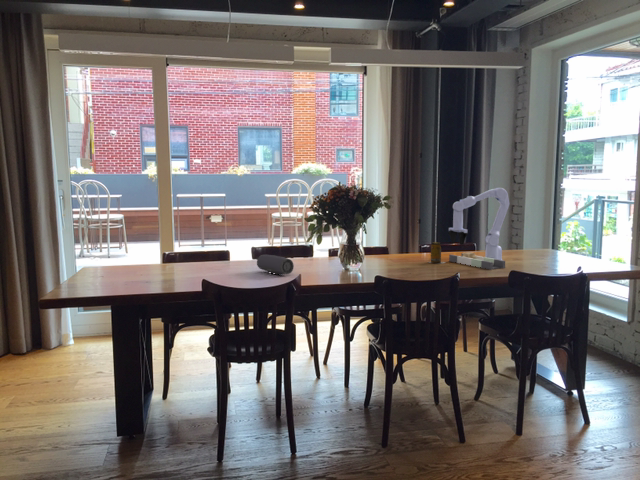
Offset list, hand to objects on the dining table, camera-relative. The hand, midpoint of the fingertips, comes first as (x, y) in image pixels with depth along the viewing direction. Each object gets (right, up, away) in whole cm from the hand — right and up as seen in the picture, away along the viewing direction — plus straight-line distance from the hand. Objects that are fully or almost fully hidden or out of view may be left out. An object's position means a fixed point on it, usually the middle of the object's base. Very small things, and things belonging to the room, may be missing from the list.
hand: (457, 243), depth 328 cm
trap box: (+7, -12, -13) cm, 19 cm away
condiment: (-14, -12, -4) cm, 18 cm away
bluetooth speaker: (-108, -16, -32) cm, 114 cm away
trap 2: (+14, -13, -25) cm, 31 cm away
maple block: (+5, -9, -8) cm, 13 cm away
